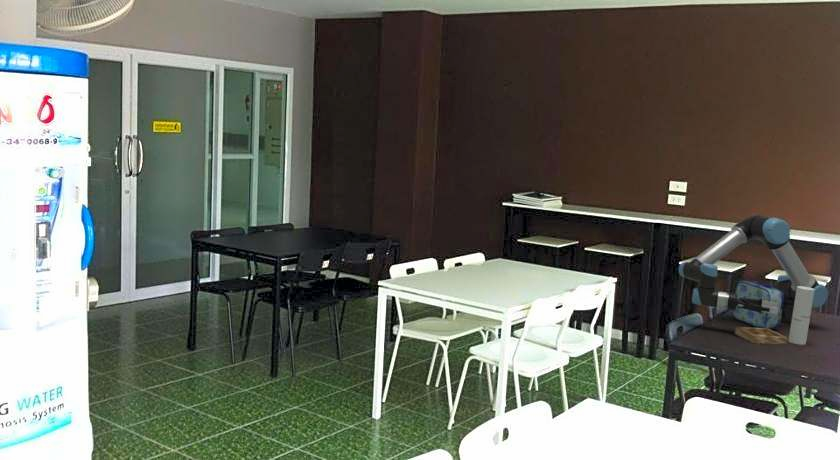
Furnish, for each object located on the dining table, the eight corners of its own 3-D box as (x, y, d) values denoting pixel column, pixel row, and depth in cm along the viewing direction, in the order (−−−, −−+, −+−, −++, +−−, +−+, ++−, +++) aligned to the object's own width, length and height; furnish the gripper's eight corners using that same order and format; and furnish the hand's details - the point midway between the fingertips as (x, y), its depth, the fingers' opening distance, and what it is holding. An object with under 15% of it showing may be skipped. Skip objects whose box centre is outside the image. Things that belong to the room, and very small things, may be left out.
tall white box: (807, 345, 363) (816, 290, 359) (790, 343, 364) (798, 288, 361) (803, 341, 370) (812, 287, 366) (786, 339, 371) (795, 285, 368)
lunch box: (783, 331, 387) (789, 288, 385) (764, 331, 384) (770, 287, 382) (747, 318, 412) (752, 277, 409) (729, 317, 409) (734, 276, 406)
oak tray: (767, 335, 377) (768, 328, 377) (786, 344, 361) (787, 337, 361) (734, 333, 375) (735, 326, 375) (752, 343, 359) (753, 336, 359)
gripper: (727, 304, 389) (775, 311, 381) (725, 313, 366) (776, 321, 358) (729, 288, 388) (778, 295, 380) (727, 297, 365) (779, 304, 357)
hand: (777, 308), depth 369 cm, fingers open, 13 cm apart
